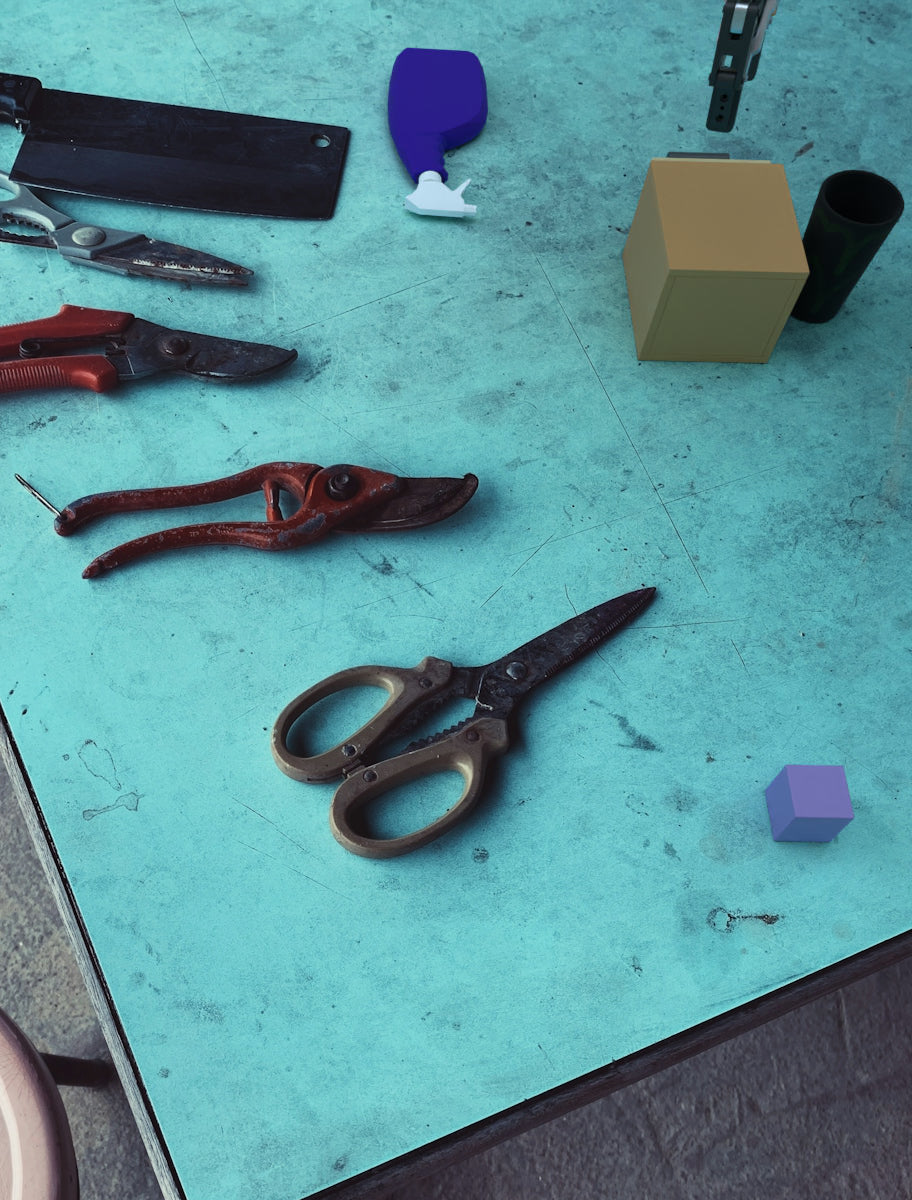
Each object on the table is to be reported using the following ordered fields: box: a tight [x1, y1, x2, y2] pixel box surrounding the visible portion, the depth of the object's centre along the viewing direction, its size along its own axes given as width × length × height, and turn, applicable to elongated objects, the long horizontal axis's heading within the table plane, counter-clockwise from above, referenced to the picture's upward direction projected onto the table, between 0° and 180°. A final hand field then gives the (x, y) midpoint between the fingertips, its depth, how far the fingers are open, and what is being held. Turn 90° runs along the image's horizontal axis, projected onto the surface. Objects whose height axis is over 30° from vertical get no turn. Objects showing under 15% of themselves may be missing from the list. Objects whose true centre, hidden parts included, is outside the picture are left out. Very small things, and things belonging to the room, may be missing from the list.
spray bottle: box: [387, 47, 489, 218], centre depth 128 cm, size 3×11×24 cm
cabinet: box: [621, 159, 810, 364], centre depth 114 cm, size 15×13×11 cm
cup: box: [790, 169, 905, 325], centre depth 114 cm, size 8×8×12 cm
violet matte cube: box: [764, 764, 855, 843], centre depth 93 cm, size 4×4×4 cm
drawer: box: [651, 151, 772, 164], centre depth 116 cm, size 18×11×9 cm, turn 0°
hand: (730, 103), depth 100 cm, fingers open, 8 cm apart
